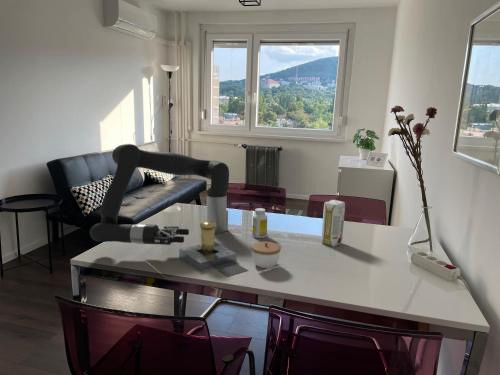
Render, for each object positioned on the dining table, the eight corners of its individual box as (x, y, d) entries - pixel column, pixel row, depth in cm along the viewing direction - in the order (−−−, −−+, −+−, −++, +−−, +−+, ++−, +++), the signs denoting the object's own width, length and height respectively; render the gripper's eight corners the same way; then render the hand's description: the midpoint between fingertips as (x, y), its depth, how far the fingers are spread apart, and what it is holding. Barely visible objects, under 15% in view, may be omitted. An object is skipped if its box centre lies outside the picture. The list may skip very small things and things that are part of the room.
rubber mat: (233, 263, 144) (234, 261, 144) (248, 271, 137) (248, 270, 137) (213, 269, 138) (213, 267, 138) (227, 278, 131) (227, 276, 131)
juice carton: (343, 243, 168) (347, 202, 164) (333, 248, 162) (337, 205, 158) (329, 238, 173) (332, 198, 169) (318, 243, 167) (321, 202, 163)
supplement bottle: (268, 235, 177) (269, 208, 174) (264, 239, 170) (265, 212, 168) (254, 233, 179) (255, 206, 176) (250, 237, 173) (251, 210, 170)
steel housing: (214, 249, 157) (214, 241, 157) (236, 262, 145) (236, 253, 144) (179, 257, 148) (179, 249, 147) (200, 272, 135) (200, 263, 135)
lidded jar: (270, 274, 135) (272, 250, 133) (245, 267, 141) (246, 243, 139) (284, 264, 144) (285, 241, 142) (260, 258, 150) (261, 235, 148)
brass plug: (210, 254, 150) (210, 219, 147) (218, 259, 146) (218, 223, 143) (196, 257, 147) (196, 222, 144) (204, 263, 142) (205, 226, 139)
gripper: (138, 230, 138) (182, 232, 137) (149, 219, 152) (190, 220, 151) (138, 250, 139) (182, 251, 139) (150, 237, 153) (190, 238, 152)
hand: (186, 235), depth 145 cm, fingers open, 8 cm apart
